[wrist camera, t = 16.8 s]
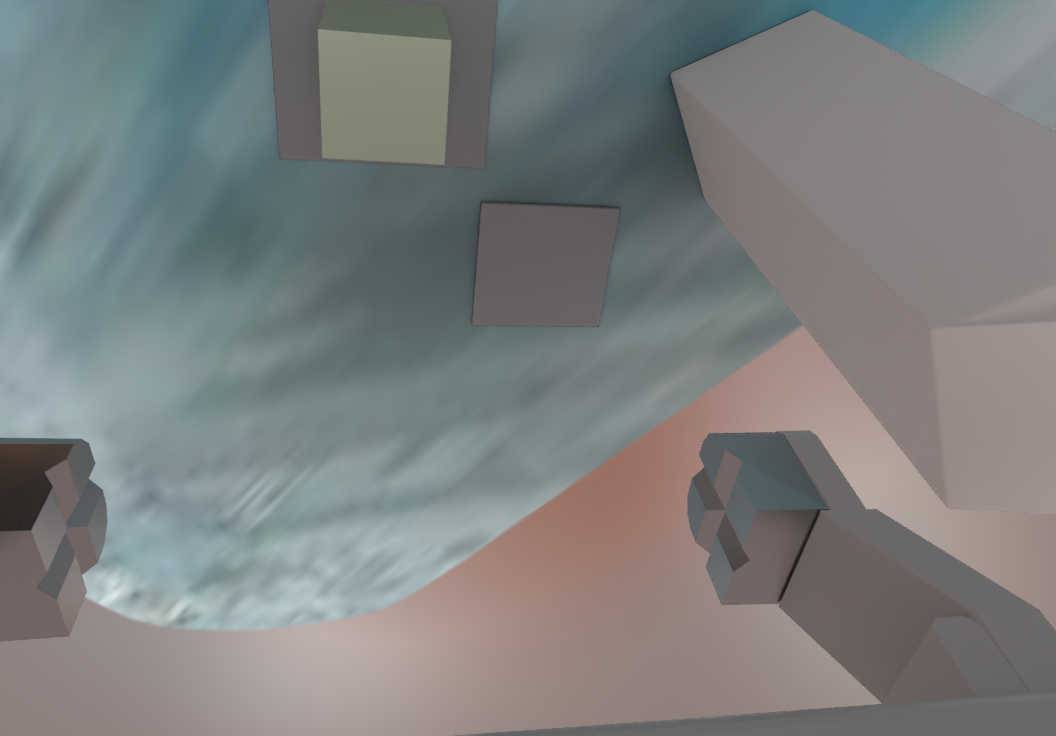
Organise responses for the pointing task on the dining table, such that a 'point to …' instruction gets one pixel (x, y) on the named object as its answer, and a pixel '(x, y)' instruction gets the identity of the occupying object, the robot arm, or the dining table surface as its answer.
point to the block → (384, 81)
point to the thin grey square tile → (298, 83)
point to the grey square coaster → (542, 264)
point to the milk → (897, 242)
